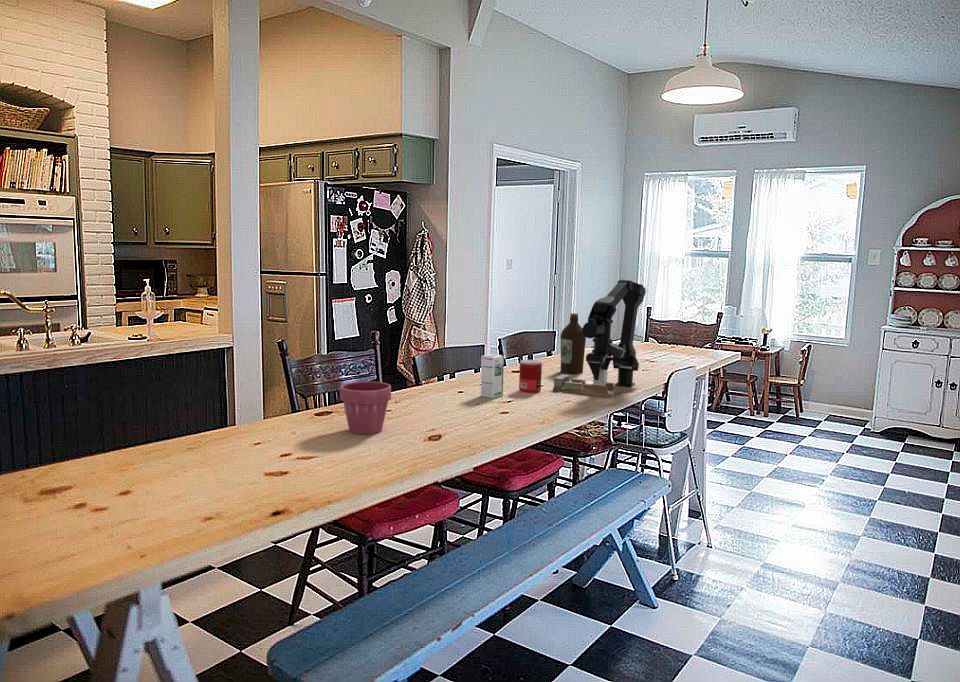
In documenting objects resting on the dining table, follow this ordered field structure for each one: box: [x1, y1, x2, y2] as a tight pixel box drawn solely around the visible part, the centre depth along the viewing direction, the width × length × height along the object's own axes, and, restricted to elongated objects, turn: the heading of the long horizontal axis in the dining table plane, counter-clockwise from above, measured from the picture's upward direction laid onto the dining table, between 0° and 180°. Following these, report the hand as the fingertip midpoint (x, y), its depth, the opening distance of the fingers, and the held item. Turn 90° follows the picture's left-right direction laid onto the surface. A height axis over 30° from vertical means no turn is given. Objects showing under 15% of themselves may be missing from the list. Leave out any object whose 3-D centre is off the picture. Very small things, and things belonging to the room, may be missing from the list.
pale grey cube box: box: [581, 369, 608, 386], centre depth 262 cm, size 7×8×7 cm
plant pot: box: [339, 381, 392, 435], centre depth 200 cm, size 14×14×13 cm
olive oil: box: [559, 312, 587, 375], centre depth 303 cm, size 11×11×25 cm
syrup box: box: [480, 353, 504, 399], centre depth 250 cm, size 6×6×14 cm
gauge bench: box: [552, 373, 620, 398], centre depth 264 cm, size 11×22×4 cm, turn 64°
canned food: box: [518, 359, 543, 394], centre depth 262 cm, size 8×8×11 cm
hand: (600, 378), depth 262 cm, fingers open, 9 cm apart
